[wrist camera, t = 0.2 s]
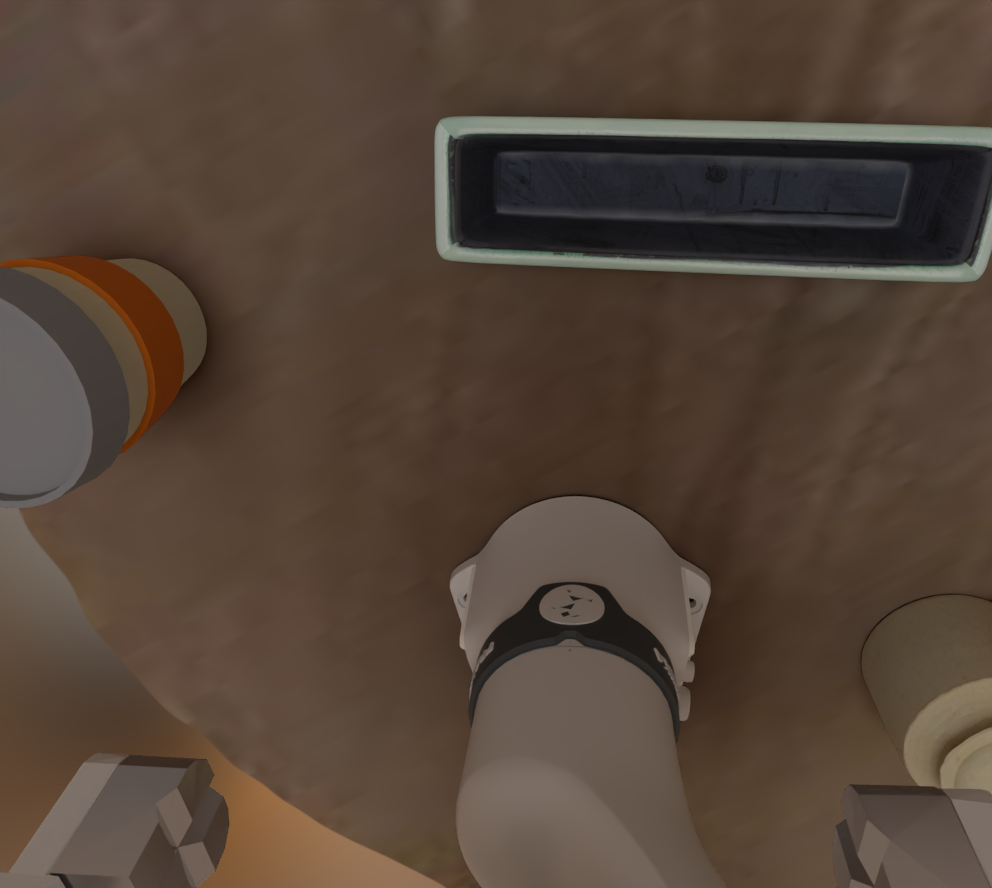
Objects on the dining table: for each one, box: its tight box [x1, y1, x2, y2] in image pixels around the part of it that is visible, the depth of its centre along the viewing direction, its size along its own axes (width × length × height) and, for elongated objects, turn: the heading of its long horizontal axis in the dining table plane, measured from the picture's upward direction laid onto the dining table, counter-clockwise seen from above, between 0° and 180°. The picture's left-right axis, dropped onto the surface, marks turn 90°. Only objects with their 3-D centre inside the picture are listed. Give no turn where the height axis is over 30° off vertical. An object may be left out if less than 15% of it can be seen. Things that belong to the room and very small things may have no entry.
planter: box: [435, 116, 992, 282], centre depth 40 cm, size 28×7×7 cm, turn 89°
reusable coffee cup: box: [0, 255, 207, 508], centre depth 44 cm, size 13×13×15 cm
